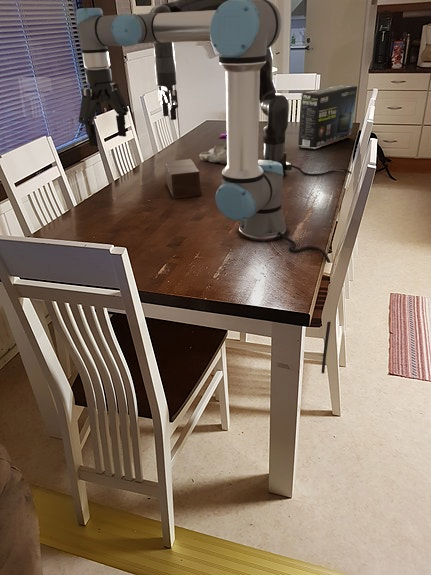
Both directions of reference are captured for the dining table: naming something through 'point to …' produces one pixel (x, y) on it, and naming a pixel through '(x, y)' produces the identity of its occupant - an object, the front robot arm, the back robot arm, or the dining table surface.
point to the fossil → (215, 154)
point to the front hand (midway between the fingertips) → (108, 140)
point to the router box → (326, 115)
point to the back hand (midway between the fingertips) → (169, 117)
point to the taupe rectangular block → (182, 178)
